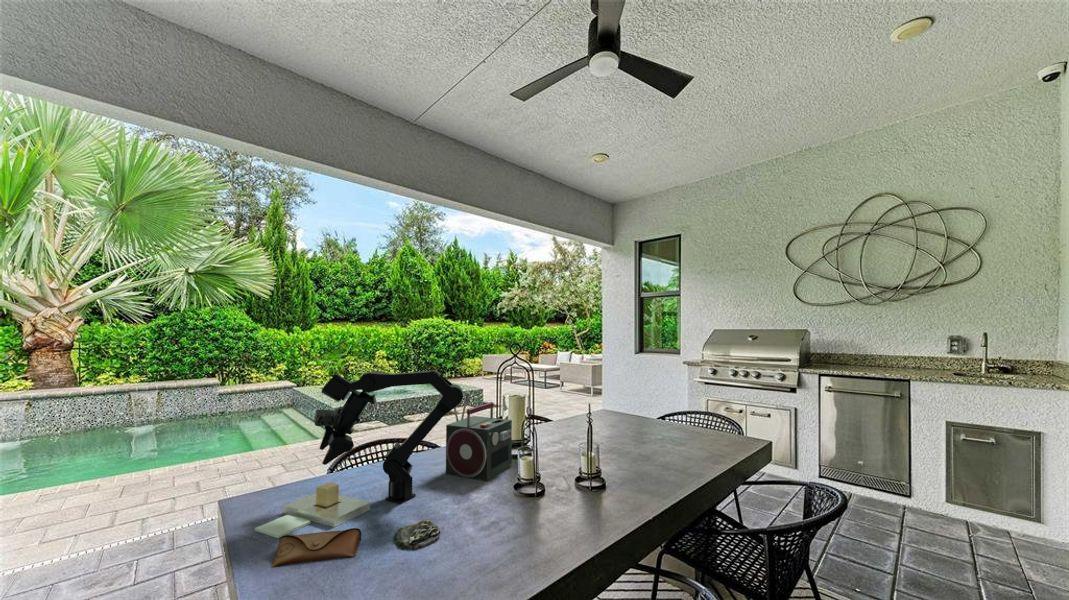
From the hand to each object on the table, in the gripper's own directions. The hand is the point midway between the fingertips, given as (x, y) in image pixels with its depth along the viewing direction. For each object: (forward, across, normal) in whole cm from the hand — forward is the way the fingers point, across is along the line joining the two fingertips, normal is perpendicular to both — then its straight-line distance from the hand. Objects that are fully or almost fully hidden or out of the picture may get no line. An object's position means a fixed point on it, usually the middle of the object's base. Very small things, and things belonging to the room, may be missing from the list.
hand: (322, 456), depth 128 cm
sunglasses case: (+8, +33, 0) cm, 34 cm away
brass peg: (+10, +10, +6) cm, 15 cm away
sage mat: (+14, +14, -4) cm, 20 cm away
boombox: (-12, 0, +52) cm, 53 cm away
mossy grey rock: (-4, +38, +19) cm, 42 cm away
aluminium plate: (+10, +10, +6) cm, 15 cm away
